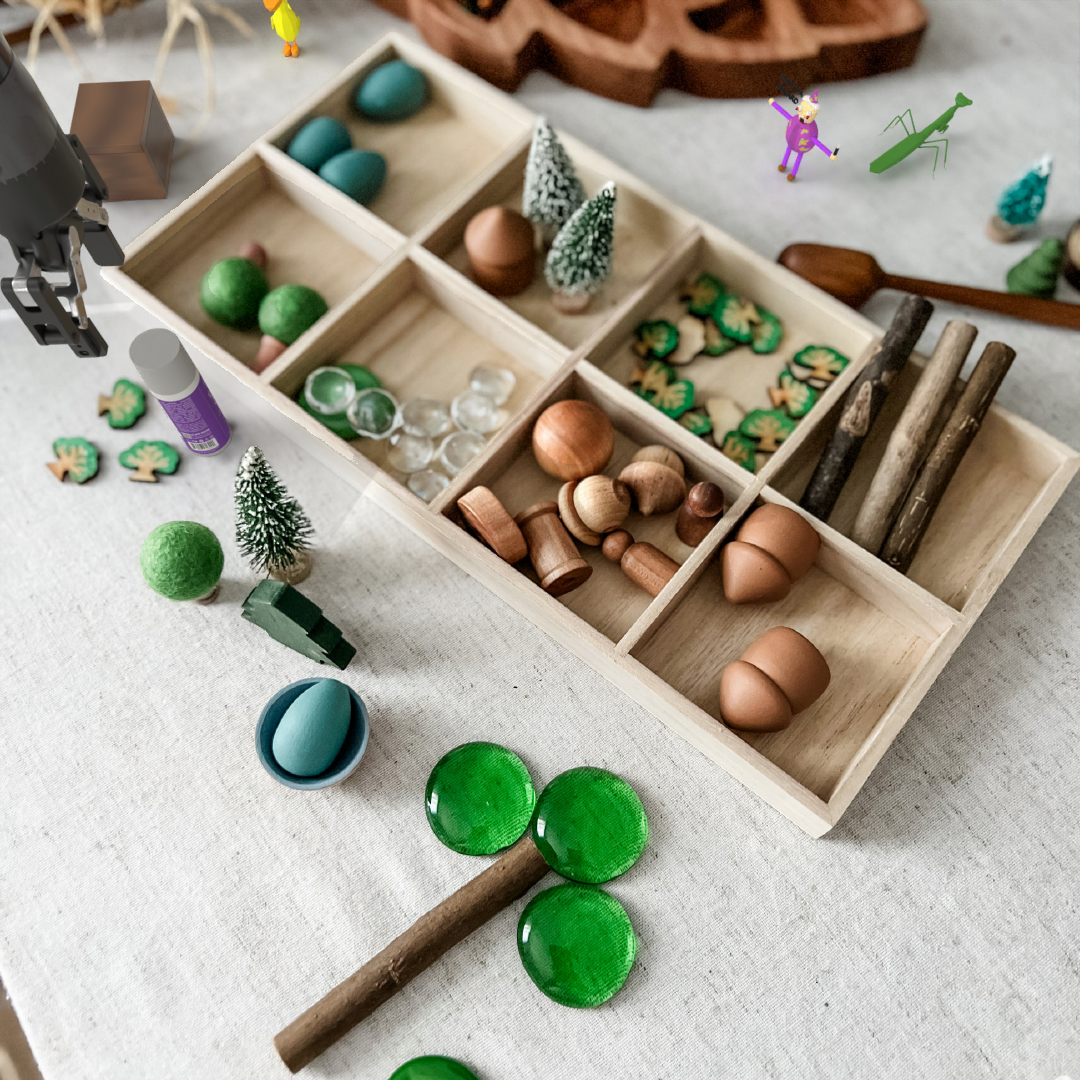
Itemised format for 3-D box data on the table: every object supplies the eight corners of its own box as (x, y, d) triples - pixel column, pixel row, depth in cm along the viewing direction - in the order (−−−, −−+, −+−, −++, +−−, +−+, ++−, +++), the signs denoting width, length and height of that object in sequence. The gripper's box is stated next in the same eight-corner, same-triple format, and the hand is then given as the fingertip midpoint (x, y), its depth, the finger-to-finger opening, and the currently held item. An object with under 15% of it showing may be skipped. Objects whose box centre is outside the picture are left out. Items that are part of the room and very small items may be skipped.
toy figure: (300, 71, 118) (276, -21, 108) (272, 69, 119) (245, -22, 108) (309, 35, 121) (286, -58, 110) (282, 33, 121) (257, -59, 110)
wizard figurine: (748, 150, 113) (771, 62, 102) (768, 139, 114) (793, 51, 103) (811, 208, 109) (841, 123, 98) (831, 196, 110) (864, 111, 99)
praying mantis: (981, 150, 113) (998, 118, 109) (894, 206, 109) (908, 176, 105) (924, 105, 116) (938, 73, 112) (837, 159, 112) (848, 128, 108)
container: (241, 428, 96) (192, 339, 83) (214, 464, 94) (159, 378, 81) (204, 410, 97) (149, 319, 84) (176, 445, 95) (116, 357, 82)
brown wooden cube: (97, 202, 109) (66, 147, 102) (108, 139, 113) (78, 83, 106) (166, 198, 109) (140, 143, 102) (174, 136, 114) (150, 79, 106)
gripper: (-46, 54, 59) (70, 236, 74) (-101, 226, 53) (36, 387, 68) (74, 51, 60) (165, 233, 74) (32, 222, 54) (140, 384, 68)
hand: (103, 307), depth 71 cm, fingers open, 8 cm apart
